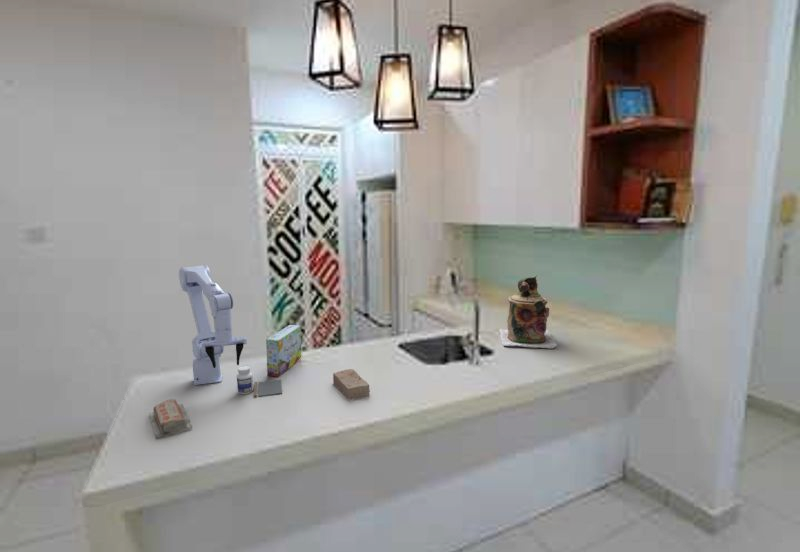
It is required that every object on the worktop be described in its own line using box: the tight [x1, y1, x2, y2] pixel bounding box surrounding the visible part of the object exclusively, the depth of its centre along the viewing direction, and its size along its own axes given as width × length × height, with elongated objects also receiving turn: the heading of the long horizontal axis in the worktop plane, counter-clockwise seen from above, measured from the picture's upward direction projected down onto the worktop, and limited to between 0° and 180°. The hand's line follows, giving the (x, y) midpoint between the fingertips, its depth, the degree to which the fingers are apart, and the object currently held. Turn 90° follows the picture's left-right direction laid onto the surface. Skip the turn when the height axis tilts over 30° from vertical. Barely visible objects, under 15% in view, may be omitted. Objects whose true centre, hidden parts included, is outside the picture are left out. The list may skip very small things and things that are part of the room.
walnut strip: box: [253, 381, 258, 398], centre depth 163 cm, size 1×12×1 cm, turn 17°
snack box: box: [265, 324, 302, 378], centre depth 184 cm, size 21×6×15 cm, turn 168°
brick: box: [332, 368, 370, 400], centre depth 164 cm, size 17×8×5 cm, turn 28°
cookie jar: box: [498, 274, 558, 349], centre depth 215 cm, size 25×25×32 cm
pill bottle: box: [236, 365, 254, 395], centre depth 161 cm, size 5×5×9 cm
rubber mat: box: [258, 379, 283, 398], centre depth 165 cm, size 8×12×1 cm, turn 17°
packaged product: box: [149, 398, 193, 440], centre depth 140 cm, size 18×5×10 cm
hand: (226, 365), depth 159 cm, fingers open, 7 cm apart
